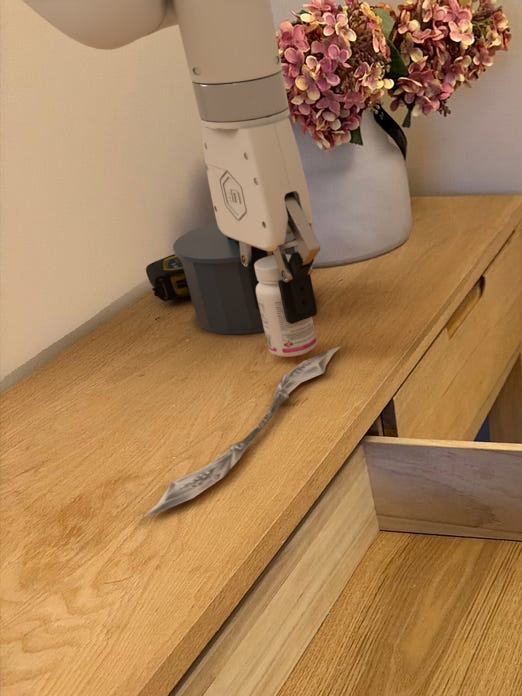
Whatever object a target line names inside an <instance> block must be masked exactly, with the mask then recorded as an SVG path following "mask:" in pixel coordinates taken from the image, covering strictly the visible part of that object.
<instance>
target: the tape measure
mask: <svg viewBox="0 0 522 696" xmlns="http://www.w3.org/2000/svg"><path fill="white" fill-rule="evenodd" d="M145 273H146V276H147V279H148V281H149V284H150V285H151V286H152V288H151V290H152V291H153V295H154V296H155V297H158V298H159V300H160V301H163V302H167V301H171V300H173V299H174V298H175V299H176V298H185V297H191V295H190V292H189V288H188V284H187V281H186V277H185V273H184V269H183V266H182V262H181V259H180V258H178V257H177V256H176V255H175V253H174V254H170V255H168V256H165V257H163V258H160V259H158V260H155V261H153V262H151V263H149V264H148V265H146V268H145Z"/></svg>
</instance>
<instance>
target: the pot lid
mask: <svg viewBox="0 0 522 696" xmlns="http://www.w3.org/2000/svg"><path fill="white" fill-rule="evenodd" d="M292 239H293V238H292V235H289V234H286V237H285V242H286V241H289V240H292ZM172 250H173V253H174V254H175V255H176V256H177V257H178V258H180V259H182V260H185V261H189V262H194V263H203V264H222V263H234V262H241V256H240V249H239V247H238V246H237V244H236V243H235V242H234V239H232V238H230V237H228V236H226V235H225V234H223V233H222V232H221V231H220V229H219V228H218V224H217V221H216V222H212V223H209V224H205V225H203V226H200V227H197V228H194V229H192V230H190V231H187V232H186V233H185V234H182V235H181V236H180V237H178V238H177V239H176V240H175V241H174V243H173V245H172ZM272 254H273V251H272Z"/></svg>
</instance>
